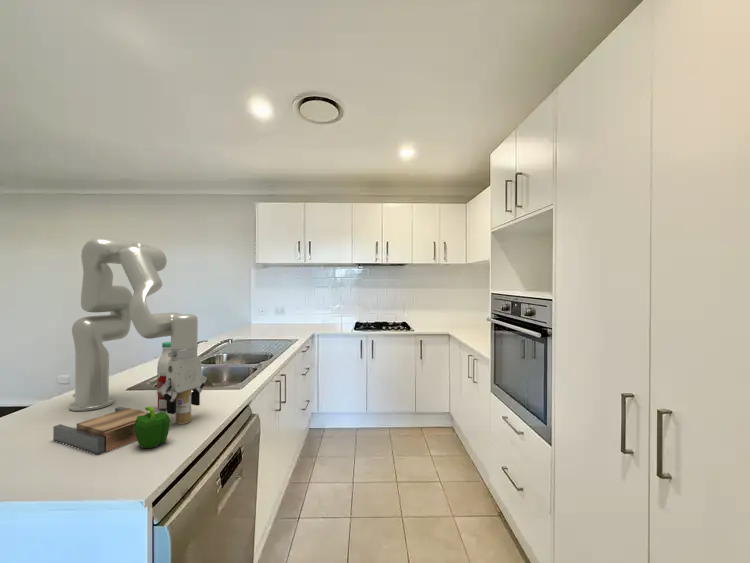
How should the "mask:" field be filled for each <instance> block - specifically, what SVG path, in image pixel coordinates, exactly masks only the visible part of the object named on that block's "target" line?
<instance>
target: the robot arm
mask: <svg viewBox="0 0 750 563" xmlns="http://www.w3.org/2000/svg"><path fill="white" fill-rule="evenodd" d="M80 256H81V264H82V270H83V272H82V281H81V282H82V283H81V292H80V306H81V308H82V310H83V311H84V312H87V313H109V314H102V315H99V314H98V315H90V316H89V315H88V316H85V317H81V318H78V319H77V320H76V321H75V322H74V323H73V324H72V326H71V334H72V339H73V342H74V343H73V344H74V352H75V354H74V358H75V364H74V365H75V366H74V367H75V368H74V372H75V373H74V374H75V375H74V377H75V378H74V379H75V380H74V381H75V382H74V384H75V385H74V393H73V394H72V397H73V398H74V402H72V403H71V404H69V405H68V409H69V410H70V411H73V412H87V411H95V410H98V409H102V408H107V407H109V406H111V405H113V404H114V402H115V398H113V397H111V396H110V394H109V393H110V389H109V388H110V354H109V351H108V349H107V347H106V346H105V344H103V343H105V342H110V341H116V340H118V341H119V340H121V339H124V338H125V337H127V336H128V334H129V332H130V331H131V330H130V329H131V324H132V325H133V327H134V328H135V331H136V332H137V333H138V334H139V335H140V336H141V337H142V338H144V339H146V340H147V339H149V340H151V339H152V340H153V339H158V338H163V337H170V342H171V352H170V353H168V357H171V359H170V360H169V362H168V367H167V374H166V382H165V383H164V384H163V385H162V386H161V387H160V388H159V389H158V392H159V394H160V395H161V397H162V398H164V399H165V400H166V401H167V410H166V414H168V415H169V414H171V415H176V401H174V399H175V397H176V395H177V393H181V392H185V391H188V390H191V406H196V407H197V406H200V404H201V403H200V402H201V400H200V398H201V393H202V392H203V390H202V389H203V388H204V387H205V384H206V381H207V380H208V377H207V376H205V375H204V374H203V368H202V362H201V358H200V356H199V355H198V329H199V328H198V323H199V322H198V321H199V320H198V316H197V315H196V314H191V313H189V314H188V313H185V314H184V313H179V312H161V313H151V311H150V309H149V306H148V304H147V297H149V296H151V295H153V294H155V293H157V292H158V291H159V290H160V289H161V288H162V286H163V281H162V279H161V277H160V274H159V273H158V272H161V271H162V270H164V269H165V268H166V266H167V261H168V260H167V256H166V254H165V253H164V251H163V250H161V249H160V248H158V247H155V246H151V245H148V244H145V243H142V242H137V241H133V240H123V239H116V238H107V237H106V238H103V237H99V238H98V237H97V238H92V239H90V240H88V241H86V242H85V244H84V245H83V247H82V249H81V255H80ZM109 264H115V265H116V264H117V265H121V266H122V269H123V271H124V273H125V275H126V277H127V280H128V282H129V284H130V286H131V287H132V290H133V294H132V291H131V290H130V289H129V288H128V287H127V286H124V285H113V281H114V272H113V269H112V268H111V267H110V265H109ZM131 322H132V323H131ZM166 390H167V391H168V393H166ZM172 393H173V394H172ZM171 394H172V396H171Z"/></svg>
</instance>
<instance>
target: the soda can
mask: <svg viewBox="0 0 750 563" xmlns="http://www.w3.org/2000/svg"><path fill="white" fill-rule="evenodd" d="M166 374H167V372H164V373H161V374H160V377H159V379H158V389H159V388H160V387H161V386H162V385H163V384H164V383H165V382H166ZM166 393H168V391H167V390H166ZM172 394H173V393H172ZM172 394H171V396H172ZM174 401H176V397H175V399H174ZM157 409H159V410H161V411H167V401H166V400H165V399H164V398H162V397H161V395H160V394H159V392H158V393H157Z"/></svg>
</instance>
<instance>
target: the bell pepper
mask: <svg viewBox="0 0 750 563" xmlns="http://www.w3.org/2000/svg"><path fill="white" fill-rule="evenodd" d="M144 409H145V411H147V412H148V411H149V412H148V413H147V414H145V415H142V416H138V417H137V419H136V421H135V424H134V429H135V435H136V438H137V440H136V441H137V444H138V445H139V446H140V447H141V448H143V449H151V448H155V447H157V446H159V445H161V444H163V443H165V442H166V440H167V438H168V434H169V431H170V427H171V418H170V416H169V414H168V413H167V412H166V411H160V412H157V413H155V409H154V408H153V407H151V406H146V407H144Z"/></svg>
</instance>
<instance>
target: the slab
mask: <svg viewBox="0 0 750 563" xmlns="http://www.w3.org/2000/svg"><path fill="white" fill-rule="evenodd" d="M126 408H127V409H123V410H120V411H117V412H115V411H113V412H111V413H107V414H104V415H101V416H97V417H94V418H91V419H88V420H87V419H86V420H84V421H81V422H77V423H76V427H77V429H78V430H82V431H86V432H89V433H93V434H96V435H100V436H103V437H104V432H106V431H109V430H112V429H115V428H118V427H121V426H124V425H127V424H130V423H133V422H135V421H136V419H137V417H138V416H142V415H145V414H147V413H148V411H143V410H140V409H139V410H138V409H134V408H132V407H131V408H130V407H126Z"/></svg>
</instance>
